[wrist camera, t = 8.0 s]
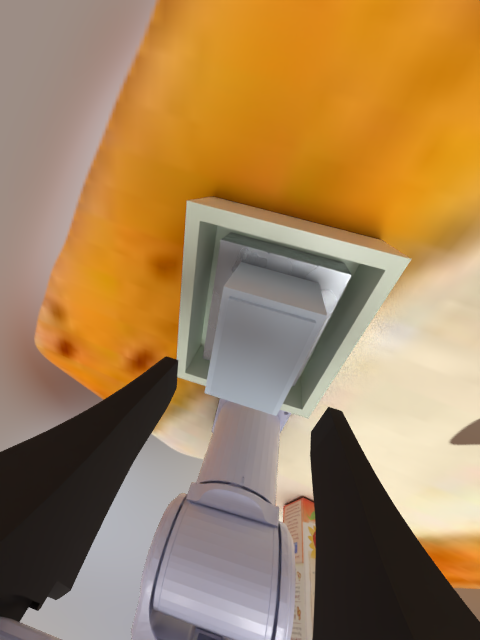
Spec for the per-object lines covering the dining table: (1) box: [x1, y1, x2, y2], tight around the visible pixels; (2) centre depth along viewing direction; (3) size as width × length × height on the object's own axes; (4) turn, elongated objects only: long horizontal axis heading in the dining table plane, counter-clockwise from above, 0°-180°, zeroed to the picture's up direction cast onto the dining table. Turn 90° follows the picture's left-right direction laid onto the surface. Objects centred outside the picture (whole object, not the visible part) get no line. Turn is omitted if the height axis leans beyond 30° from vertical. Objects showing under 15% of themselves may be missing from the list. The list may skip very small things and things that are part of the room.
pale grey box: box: [205, 262, 327, 416], centre depth 14 cm, size 8×5×4 cm, turn 168°
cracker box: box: [283, 498, 316, 640], centre depth 28 cm, size 14×6×21 cm, turn 64°
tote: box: [177, 196, 411, 418], centre depth 17 cm, size 14×12×4 cm
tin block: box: [203, 232, 352, 386], centre depth 17 cm, size 10×8×2 cm
